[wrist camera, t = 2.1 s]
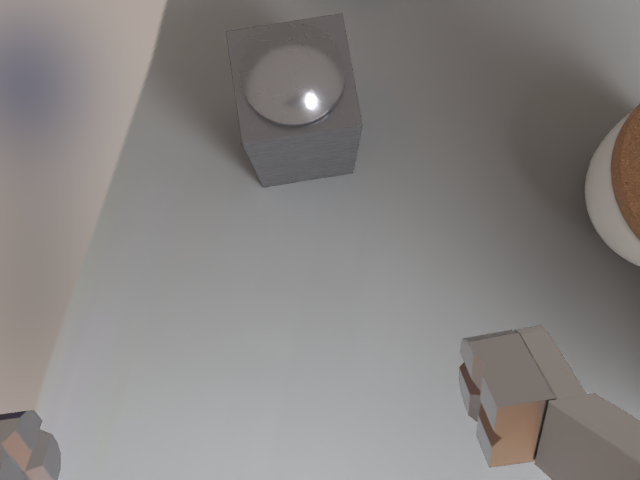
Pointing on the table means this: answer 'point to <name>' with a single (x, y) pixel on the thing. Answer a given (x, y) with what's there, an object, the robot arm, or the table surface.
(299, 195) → the table surface
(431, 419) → the table surface
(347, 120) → the grey metal block
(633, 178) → the lidded jar
